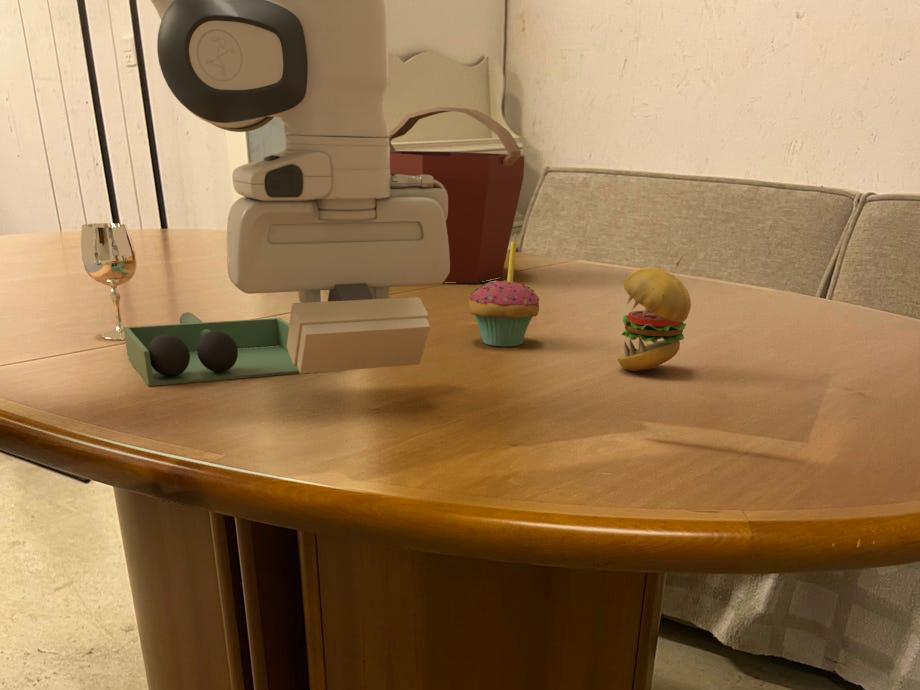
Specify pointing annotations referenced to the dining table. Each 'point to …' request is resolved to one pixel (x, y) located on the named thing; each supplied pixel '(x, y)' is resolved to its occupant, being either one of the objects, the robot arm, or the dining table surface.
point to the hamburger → (654, 317)
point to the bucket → (470, 196)
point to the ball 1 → (169, 355)
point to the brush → (356, 331)
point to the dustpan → (240, 331)
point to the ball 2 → (217, 351)
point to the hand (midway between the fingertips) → (345, 339)
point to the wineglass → (109, 261)
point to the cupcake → (504, 308)
